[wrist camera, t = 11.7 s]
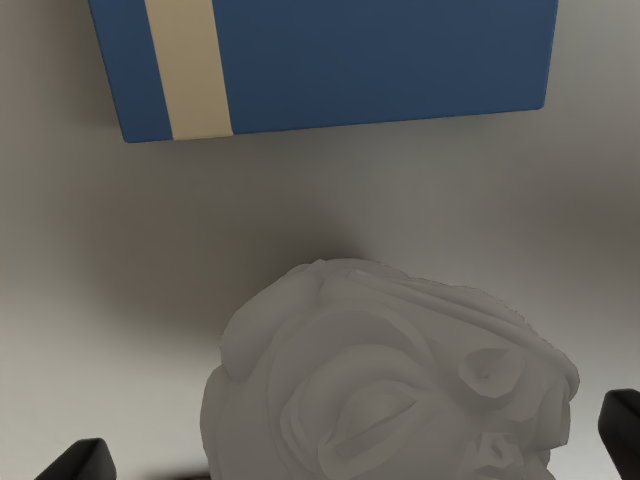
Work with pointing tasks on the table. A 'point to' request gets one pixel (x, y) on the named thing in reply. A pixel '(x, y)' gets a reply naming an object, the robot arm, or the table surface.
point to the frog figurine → (382, 382)
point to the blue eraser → (317, 62)
